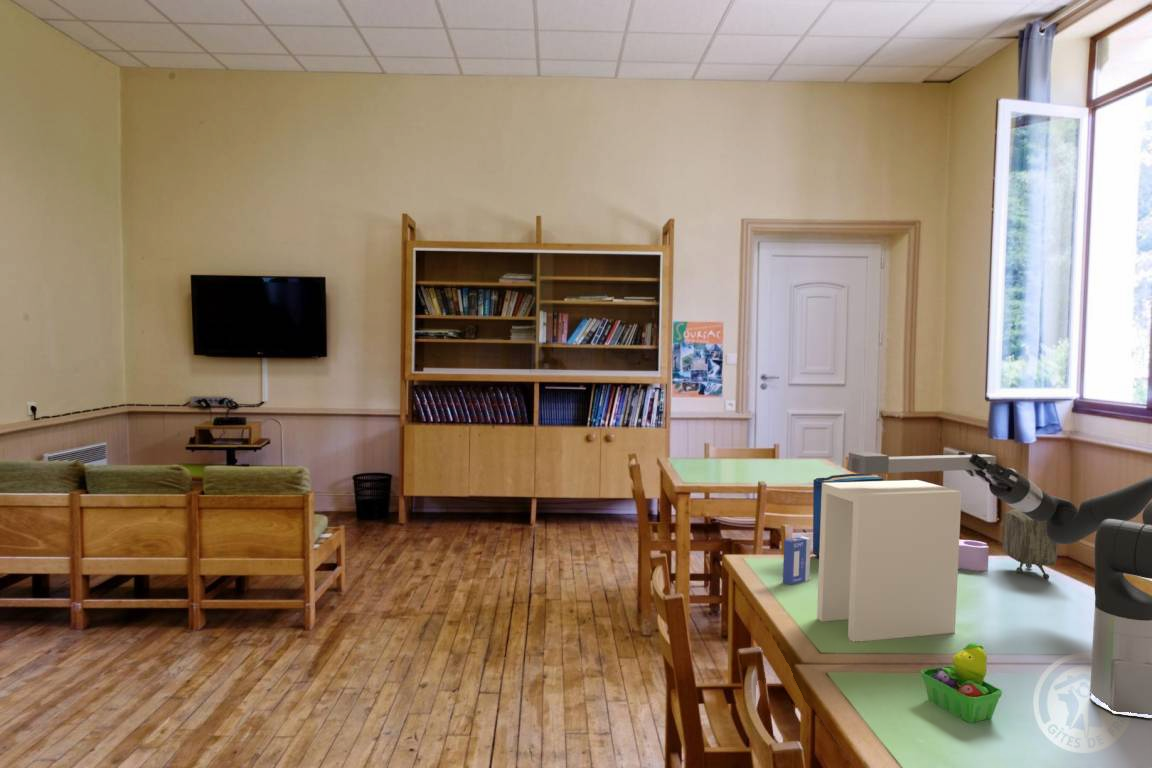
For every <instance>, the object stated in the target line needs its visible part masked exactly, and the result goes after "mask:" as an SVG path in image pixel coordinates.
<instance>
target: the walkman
mask: <svg viewBox="0 0 1152 768" xmlns="http://www.w3.org/2000/svg"><path fill="white" fill-rule="evenodd" d="M811 540H812V539H811V537H807V536H803V535H802V536H797V537H793V538H792V537H791V538H787V539H786V538H785V539H784V540H783V567H782V583H785V584H787V585H789V586H793V585H796V584H800V583H805V582H808V581H810V566H811V565H810V564H811V543H812V541H811Z"/></svg>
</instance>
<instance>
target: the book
mask: <svg viewBox="0 0 1152 768" xmlns="http://www.w3.org/2000/svg"><path fill="white" fill-rule="evenodd" d="M868 481H884V476H878V474H861V473H847V474H845V473H843V474H835V475H830V476H828V477H816V478H815V479H813V487H812V488H813V494H812V495H813V502H812V504H813V505H812V506H813V508H812V510H813V513H812V515H813V516H812V521H813V522H812V554H813V555H814V556H816V557H817V558H818V557H819V550H820V523H821V496H822V483H835V482H868Z"/></svg>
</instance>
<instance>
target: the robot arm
mask: <svg viewBox="0 0 1152 768" xmlns="http://www.w3.org/2000/svg"><path fill="white" fill-rule="evenodd" d="M957 455H968V454H967V453H966V452H964V451H959V452H958V453H957ZM971 455H972V456H971V458H970V463H972V464H973V465H975V466H976V467H978V468H979V469H982V470H964V471H965V472H966V473H967V474H968V475H969V476H971V477H975V476H976V477H978V478H979V479H981V481H982V482H984V483H986V484H988V487H989V492H990V493H991V494H992V495H993V496H995V497H996V498H998V499H999V500H1000V501H1002V502H1004V503H1006V505H1008V506H1009V507H1012V508H1013V509H1016V510H1019V511H1021V512H1022V513H1024V514H1025V515H1027V516H1028V517H1030V518H1032V519H1033V520H1036V521H1045V522H1046V534H1047V536H1048V538H1049V539H1050V540H1052V541H1053V542H1056V543H1058V545H1069V544H1074V543H1077V542H1079V541H1081V540H1083V539H1085V538H1087V537H1089V536H1090V535H1092V534H1094V533H1095V538H1094V596H1095V597H1094V615H1093V616H1094V618H1093V629H1092V630H1093V631H1092V647H1091V648H1092V649H1091V665H1090V685H1089V686H1090V687H1089V693H1090V692H1091V693H1092V694H1093V695H1094V696H1095V697H1096V698H1098V699H1099V700H1100V701H1101V702H1103V703H1105V704H1106V705H1108V707H1109V708H1110V709H1111V710H1113V711H1116V712H1129V713H1130V712H1131V713H1137V714H1148V715H1152V595H1151V594H1148V593H1147V592H1145V591H1143V590H1141V589H1140V588H1138V587H1137V586H1135V585H1134V584H1132V583H1131V582H1130V581H1129V580H1128V579H1127V578H1126V576H1125V575H1124V574H1126V575H1130V576H1134V577H1135V576H1136V577H1140V578H1145V579H1152V475H1151V476H1149V477H1146V478H1144V479H1142V480H1139V481H1137V482H1134V483H1133V484H1130V485H1128V486H1126V487H1123V488H1119V489H1117V490H1114V491H1110V492H1107V493H1103V494H1100V495H1097V496H1093V497H1090V498H1086V499H1084V500H1082V502H1081V503H1080V505H1079V508H1078V507H1077V506H1076V505H1075V504H1074V503H1073V502H1072V501H1070V500H1067V499H1064V498H1060V497H1057V496H1054V495H1051V494H1048V493H1047V492H1046V491H1044V490H1042V489H1041V488H1040V487H1038V486H1037V484H1035V483H1034V482H1033V481H1031V480H1030V479H1029V478H1027V477H1026V476H1024V475H1023V474H1021V473H1020V472H1018V471H1017V470H1015V469H1014V468H1011V467H1010V468H1009V467H1007V468H1006V467H1003V466H1001V465H1000V464H999V463H996V464H992V463H991V462H990V461H986V460H984V459H983V458H981V457H980V456H978V455H977V453H972V454H971ZM1141 513H1142V518H1141V519H1142V523H1141V522H1135V521H1131V520H1132V519H1134V518H1136V517H1137V516H1139V514H1141Z"/></svg>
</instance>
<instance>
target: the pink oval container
mask: <svg viewBox="0 0 1152 768" xmlns="http://www.w3.org/2000/svg"><path fill="white" fill-rule="evenodd" d="M989 552H990V547H989V545H988V543H987V542H984V541H978V540H973V539H972V540H971V539H960V538H959V557H958V569H965V570H972V571H980V572H981V571H983V572H984V571H988V570H989V555H990V554H989Z"/></svg>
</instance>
